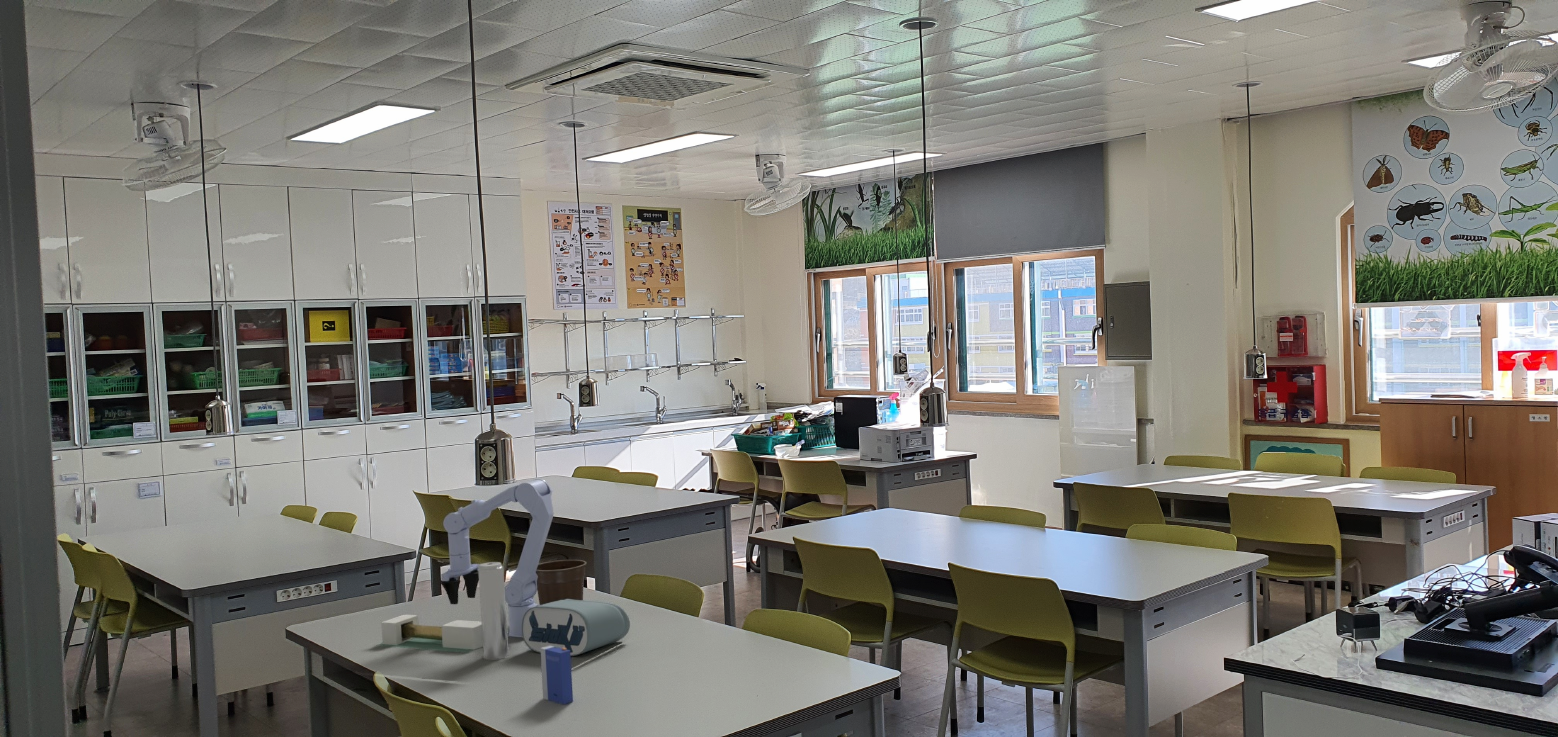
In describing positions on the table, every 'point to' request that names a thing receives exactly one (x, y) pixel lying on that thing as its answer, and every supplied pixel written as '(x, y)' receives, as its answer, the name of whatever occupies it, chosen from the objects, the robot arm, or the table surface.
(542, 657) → the walkman
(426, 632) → the tube
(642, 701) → the table surface
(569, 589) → the plant pot
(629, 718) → the table surface
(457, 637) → the sleeve
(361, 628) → the table surface
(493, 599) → the white tall cylinder
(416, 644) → the mat
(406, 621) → the socket
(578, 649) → the pencil case
